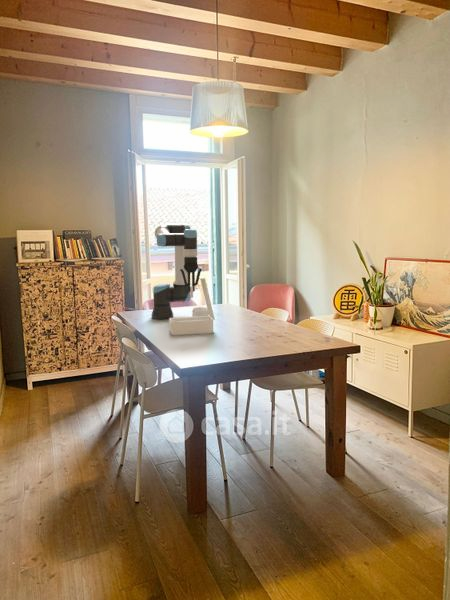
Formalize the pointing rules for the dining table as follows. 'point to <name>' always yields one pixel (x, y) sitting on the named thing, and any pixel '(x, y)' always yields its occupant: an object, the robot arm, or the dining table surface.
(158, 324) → the dining table surface
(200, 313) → the photo printer
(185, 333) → the box
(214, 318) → the mailer lid
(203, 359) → the dining table surface
